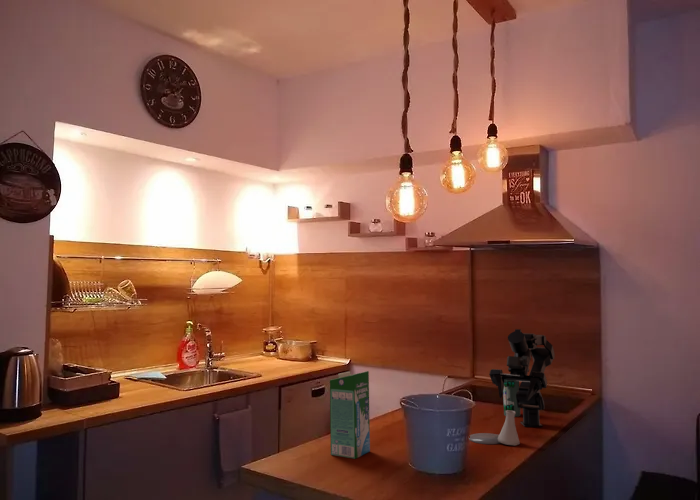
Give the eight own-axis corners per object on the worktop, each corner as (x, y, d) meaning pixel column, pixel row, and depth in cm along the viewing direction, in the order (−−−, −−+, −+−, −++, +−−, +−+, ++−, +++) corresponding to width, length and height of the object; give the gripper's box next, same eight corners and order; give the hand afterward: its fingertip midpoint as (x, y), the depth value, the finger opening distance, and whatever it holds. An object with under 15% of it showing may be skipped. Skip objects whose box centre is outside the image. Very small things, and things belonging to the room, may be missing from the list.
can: (501, 413, 222) (500, 376, 223) (515, 413, 223) (514, 375, 225) (508, 417, 216) (507, 378, 218) (523, 416, 217) (521, 377, 219)
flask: (494, 442, 178) (496, 411, 177) (500, 436, 184) (502, 406, 184) (517, 447, 174) (519, 416, 174) (522, 441, 180) (524, 411, 180)
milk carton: (345, 447, 177) (344, 368, 179) (370, 451, 172) (368, 370, 174) (330, 454, 169) (329, 372, 171) (355, 459, 164) (354, 374, 166)
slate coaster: (466, 434, 190) (466, 433, 190) (501, 434, 190) (501, 433, 190) (472, 444, 178) (471, 442, 178) (509, 444, 178) (509, 442, 178)
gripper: (489, 346, 197) (480, 381, 187) (543, 348, 187) (537, 386, 177) (497, 365, 203) (488, 401, 193) (549, 368, 193) (543, 406, 183)
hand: (513, 398), depth 186 cm, fingers open, 9 cm apart
